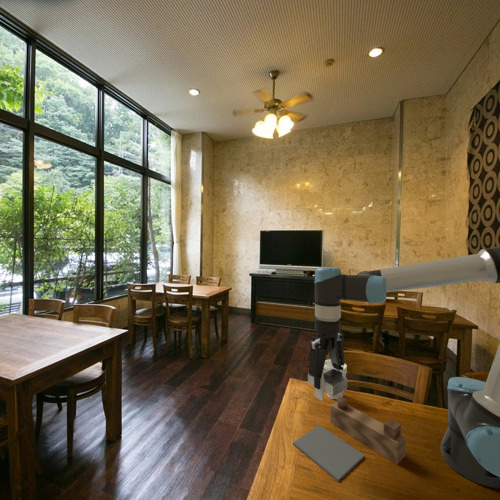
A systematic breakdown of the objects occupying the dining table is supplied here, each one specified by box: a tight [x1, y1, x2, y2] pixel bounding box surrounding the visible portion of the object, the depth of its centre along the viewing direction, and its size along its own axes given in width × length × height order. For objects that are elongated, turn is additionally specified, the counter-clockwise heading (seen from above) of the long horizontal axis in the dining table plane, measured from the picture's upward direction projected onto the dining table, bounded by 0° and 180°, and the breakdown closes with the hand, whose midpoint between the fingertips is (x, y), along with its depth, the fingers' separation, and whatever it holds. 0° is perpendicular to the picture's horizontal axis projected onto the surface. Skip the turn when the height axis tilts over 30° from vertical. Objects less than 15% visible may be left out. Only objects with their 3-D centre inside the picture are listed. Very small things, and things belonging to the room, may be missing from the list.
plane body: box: [330, 396, 406, 465], centre depth 81 cm, size 22×5×9 cm, turn 37°
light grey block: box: [307, 368, 348, 396], centre depth 76 cm, size 9×7×5 cm
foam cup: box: [324, 359, 348, 400], centre depth 105 cm, size 10×9×13 cm
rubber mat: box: [292, 424, 365, 482], centre depth 76 cm, size 16×13×1 cm
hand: (327, 393), depth 76 cm, fingers closed on light grey block, 7 cm apart
